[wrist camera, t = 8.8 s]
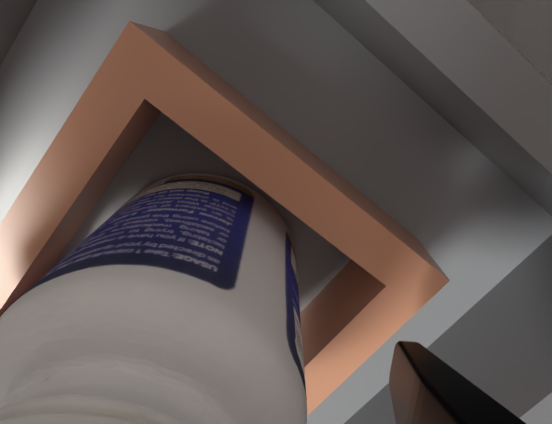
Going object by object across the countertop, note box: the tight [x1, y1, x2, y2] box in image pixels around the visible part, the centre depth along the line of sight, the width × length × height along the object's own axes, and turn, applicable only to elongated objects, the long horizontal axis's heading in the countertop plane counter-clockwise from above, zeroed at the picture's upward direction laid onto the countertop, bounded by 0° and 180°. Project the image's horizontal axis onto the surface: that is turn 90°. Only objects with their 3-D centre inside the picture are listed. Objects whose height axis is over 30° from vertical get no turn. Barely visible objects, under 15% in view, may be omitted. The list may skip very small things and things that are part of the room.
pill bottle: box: [0, 173, 307, 424], centre depth 8 cm, size 5×5×9 cm
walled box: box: [0, 0, 552, 424], centre depth 11 cm, size 16×16×4 cm
